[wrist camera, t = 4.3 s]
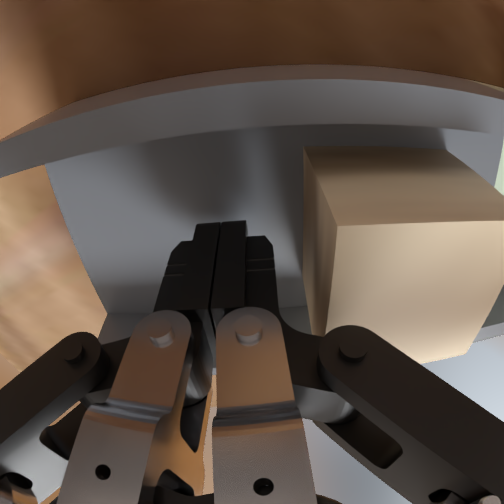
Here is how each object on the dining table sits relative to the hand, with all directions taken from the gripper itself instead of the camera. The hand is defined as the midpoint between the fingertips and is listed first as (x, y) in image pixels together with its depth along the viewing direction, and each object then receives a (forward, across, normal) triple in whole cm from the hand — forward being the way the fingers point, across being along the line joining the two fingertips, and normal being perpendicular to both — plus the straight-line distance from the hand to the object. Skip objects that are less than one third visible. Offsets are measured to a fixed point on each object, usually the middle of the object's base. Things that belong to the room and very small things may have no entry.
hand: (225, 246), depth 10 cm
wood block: (+1, -5, 0) cm, 5 cm away
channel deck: (+4, -10, 0) cm, 11 cm away
